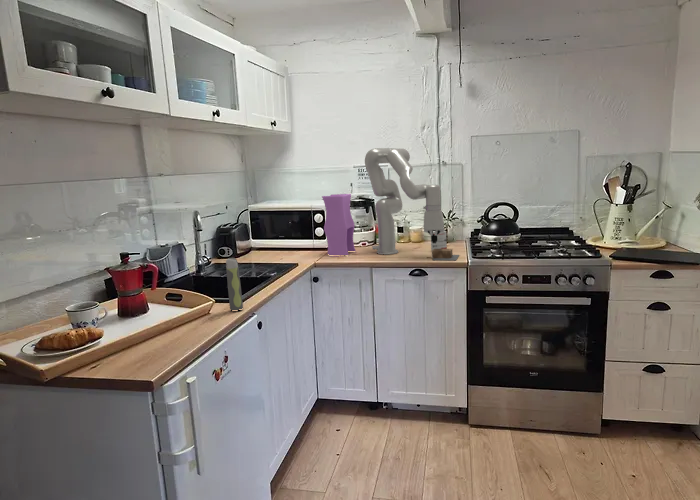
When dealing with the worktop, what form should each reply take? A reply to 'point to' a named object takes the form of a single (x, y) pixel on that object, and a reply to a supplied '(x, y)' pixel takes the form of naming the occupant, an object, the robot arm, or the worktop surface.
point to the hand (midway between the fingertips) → (434, 242)
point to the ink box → (440, 241)
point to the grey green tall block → (234, 284)
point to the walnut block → (442, 253)
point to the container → (339, 224)
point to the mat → (447, 258)
